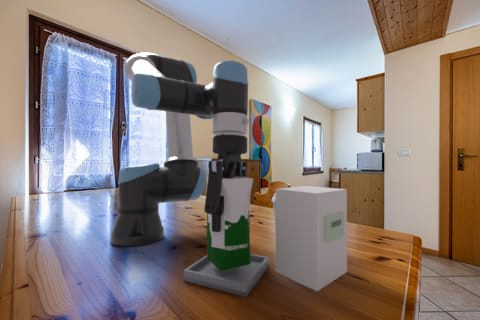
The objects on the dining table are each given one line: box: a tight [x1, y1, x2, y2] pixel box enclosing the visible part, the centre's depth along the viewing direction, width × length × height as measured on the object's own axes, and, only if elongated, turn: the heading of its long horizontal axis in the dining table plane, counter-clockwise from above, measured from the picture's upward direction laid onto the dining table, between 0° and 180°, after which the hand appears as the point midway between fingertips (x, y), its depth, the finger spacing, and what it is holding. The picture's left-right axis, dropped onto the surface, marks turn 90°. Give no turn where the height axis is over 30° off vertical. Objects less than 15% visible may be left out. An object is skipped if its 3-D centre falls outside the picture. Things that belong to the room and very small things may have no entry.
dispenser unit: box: [275, 185, 348, 292], centre depth 50 cm, size 11×12×18 cm
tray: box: [182, 253, 270, 298], centre depth 49 cm, size 14×14×2 cm
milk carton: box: [206, 172, 254, 271], centre depth 49 cm, size 9×9×20 cm
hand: (229, 240), depth 49 cm, fingers closed on milk carton, 9 cm apart
